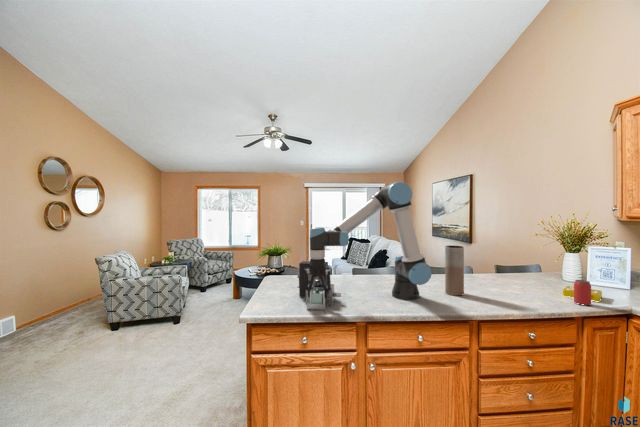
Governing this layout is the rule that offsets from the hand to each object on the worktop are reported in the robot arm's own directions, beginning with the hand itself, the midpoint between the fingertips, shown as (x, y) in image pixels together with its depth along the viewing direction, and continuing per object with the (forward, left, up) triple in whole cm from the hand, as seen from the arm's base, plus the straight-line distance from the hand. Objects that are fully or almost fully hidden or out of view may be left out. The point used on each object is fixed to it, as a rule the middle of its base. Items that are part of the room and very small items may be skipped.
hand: (317, 303), depth 145 cm
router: (+6, -21, -2) cm, 22 cm away
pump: (0, 0, -1) cm, 1 cm away
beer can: (-134, -28, -2) cm, 137 cm away
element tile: (-143, -42, -2) cm, 149 cm away
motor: (-2, -3, -2) cm, 4 cm away
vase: (-75, -38, -2) cm, 84 cm away
